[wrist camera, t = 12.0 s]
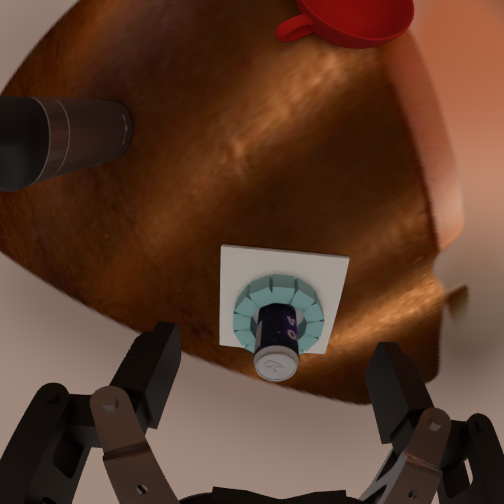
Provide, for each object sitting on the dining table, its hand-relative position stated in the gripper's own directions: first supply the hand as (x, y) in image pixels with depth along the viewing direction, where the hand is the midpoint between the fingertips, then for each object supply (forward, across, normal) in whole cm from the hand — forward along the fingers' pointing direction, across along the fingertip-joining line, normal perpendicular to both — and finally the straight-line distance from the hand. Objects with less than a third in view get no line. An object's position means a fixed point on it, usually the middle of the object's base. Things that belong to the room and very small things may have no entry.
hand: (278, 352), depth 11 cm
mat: (+29, -2, +17) cm, 33 cm away
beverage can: (+28, -2, +18) cm, 33 cm away
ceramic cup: (+29, -5, -24) cm, 38 cm away
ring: (+28, -2, +18) cm, 33 cm away
